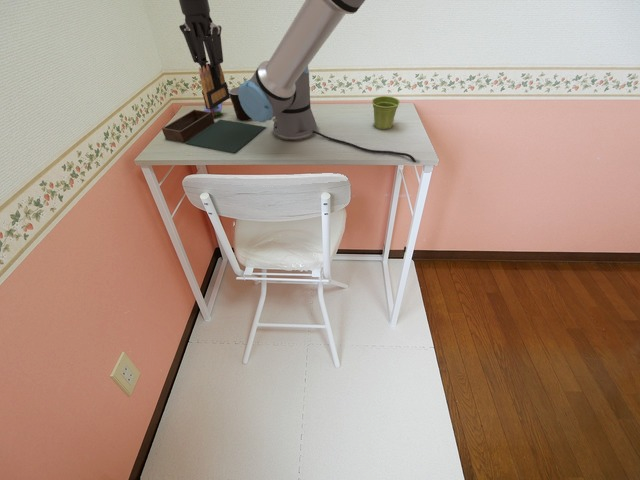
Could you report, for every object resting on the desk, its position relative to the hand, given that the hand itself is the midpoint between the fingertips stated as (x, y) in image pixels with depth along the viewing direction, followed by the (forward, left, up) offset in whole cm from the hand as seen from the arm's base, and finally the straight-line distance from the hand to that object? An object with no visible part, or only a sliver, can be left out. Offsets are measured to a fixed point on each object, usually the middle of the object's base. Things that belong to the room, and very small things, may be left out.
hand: (214, 87), depth 105 cm
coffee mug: (+2, -17, -16) cm, 24 cm away
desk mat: (0, 0, -16) cm, 16 cm away
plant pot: (-50, -25, -16) cm, 58 cm away
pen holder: (+15, +1, -16) cm, 22 cm away
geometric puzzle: (+14, -13, -16) cm, 25 cm away
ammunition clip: (0, 0, -5) cm, 5 cm away
